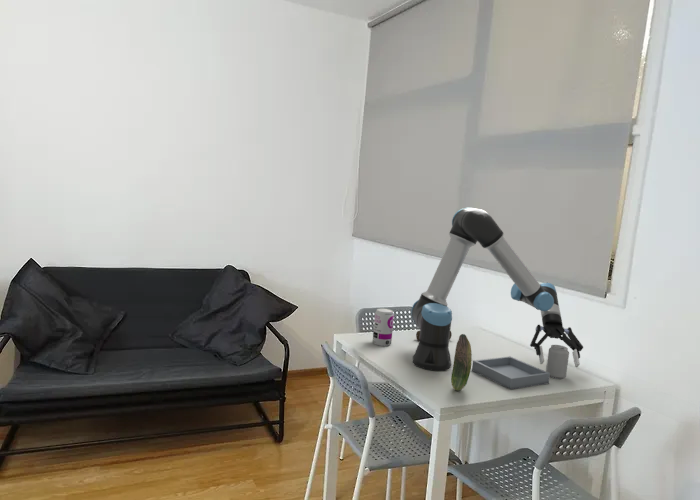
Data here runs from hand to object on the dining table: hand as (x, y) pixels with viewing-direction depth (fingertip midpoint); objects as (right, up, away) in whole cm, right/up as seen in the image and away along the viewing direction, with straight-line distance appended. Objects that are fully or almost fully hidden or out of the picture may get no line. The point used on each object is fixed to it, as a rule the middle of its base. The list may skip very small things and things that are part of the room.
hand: (559, 364), depth 201 cm
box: (-20, -4, -3) cm, 21 cm away
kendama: (-42, +2, +41) cm, 59 cm away
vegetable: (-43, -5, -21) cm, 49 cm away
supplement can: (-68, +3, +26) cm, 73 cm away
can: (-1, -5, +3) cm, 6 cm away
